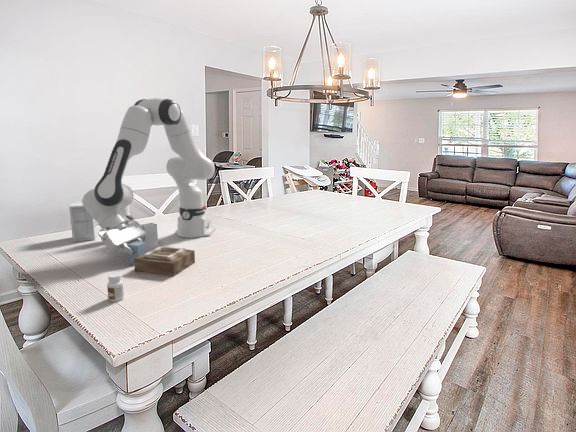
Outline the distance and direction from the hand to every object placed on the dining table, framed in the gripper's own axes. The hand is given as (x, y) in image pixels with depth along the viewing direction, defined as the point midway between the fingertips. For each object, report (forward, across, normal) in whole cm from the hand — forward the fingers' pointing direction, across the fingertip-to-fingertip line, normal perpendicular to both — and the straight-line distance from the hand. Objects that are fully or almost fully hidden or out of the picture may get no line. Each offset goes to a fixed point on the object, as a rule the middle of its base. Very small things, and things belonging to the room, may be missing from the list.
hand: (138, 251), depth 150 cm
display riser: (+13, -2, -6) cm, 14 cm away
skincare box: (+1, +13, +6) cm, 14 cm away
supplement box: (-28, +21, +34) cm, 49 cm away
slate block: (+3, 0, +4) cm, 4 cm away
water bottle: (-16, +26, +22) cm, 38 cm away
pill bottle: (+13, -32, -7) cm, 35 cm away
